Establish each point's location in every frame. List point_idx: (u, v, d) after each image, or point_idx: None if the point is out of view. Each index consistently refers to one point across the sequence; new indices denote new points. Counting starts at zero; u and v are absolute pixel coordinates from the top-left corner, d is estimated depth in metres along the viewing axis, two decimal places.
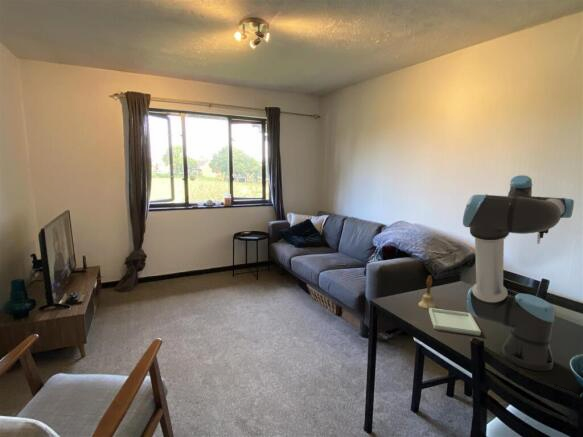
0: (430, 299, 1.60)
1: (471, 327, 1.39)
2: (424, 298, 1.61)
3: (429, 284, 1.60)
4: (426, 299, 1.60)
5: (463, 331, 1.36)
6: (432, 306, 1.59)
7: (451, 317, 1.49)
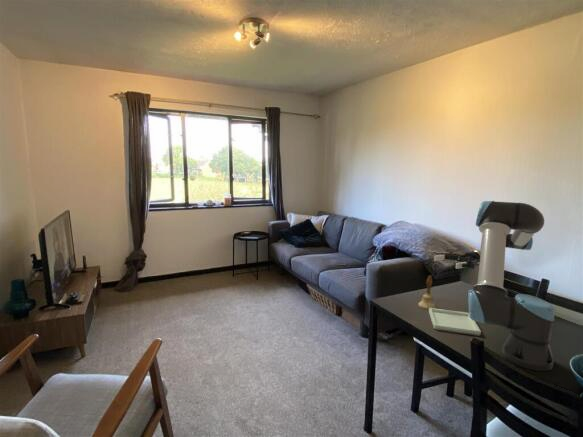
0: (430, 299, 1.60)
1: (471, 327, 1.39)
2: (424, 298, 1.61)
3: (429, 284, 1.60)
4: (426, 299, 1.60)
5: (463, 331, 1.36)
6: (432, 306, 1.59)
7: (451, 317, 1.49)
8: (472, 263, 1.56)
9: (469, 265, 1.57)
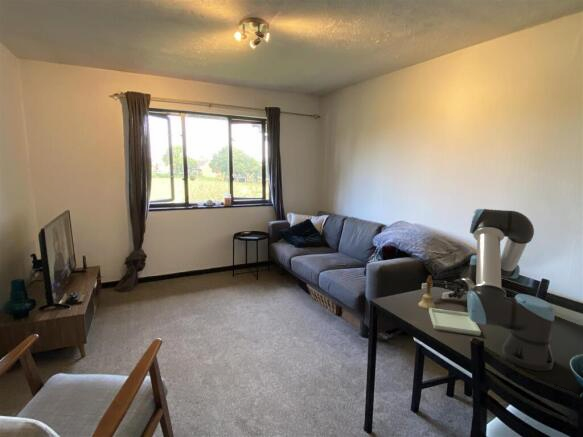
0: (430, 299, 1.60)
1: (471, 327, 1.39)
2: (424, 298, 1.61)
3: (429, 284, 1.60)
4: (426, 299, 1.60)
5: (463, 331, 1.36)
6: (432, 306, 1.59)
7: (451, 317, 1.49)
8: (459, 293, 1.57)
9: (456, 295, 1.57)
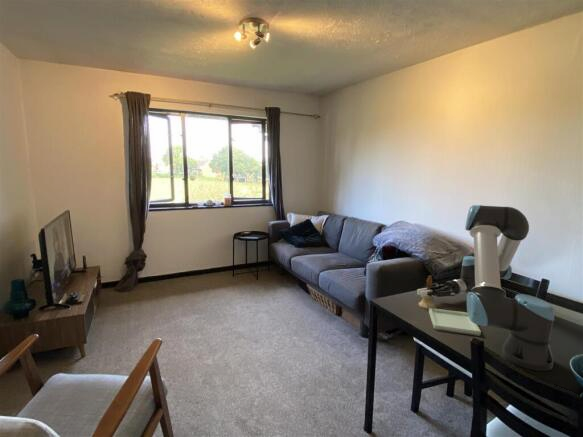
0: (430, 299, 1.60)
1: (471, 327, 1.39)
2: (424, 298, 1.61)
3: (429, 284, 1.60)
4: (426, 299, 1.60)
5: (463, 331, 1.36)
6: (432, 306, 1.59)
7: (451, 317, 1.49)
8: (437, 291, 1.58)
9: (434, 293, 1.59)
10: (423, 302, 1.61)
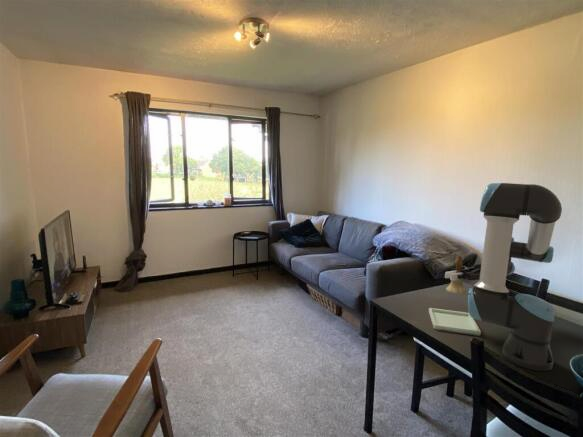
0: (460, 283, 1.40)
1: (471, 327, 1.39)
2: (453, 282, 1.41)
3: (459, 266, 1.40)
4: (456, 283, 1.40)
5: (463, 331, 1.36)
6: (463, 291, 1.39)
7: (451, 317, 1.49)
8: (469, 274, 1.38)
9: (465, 276, 1.39)
10: (452, 287, 1.41)
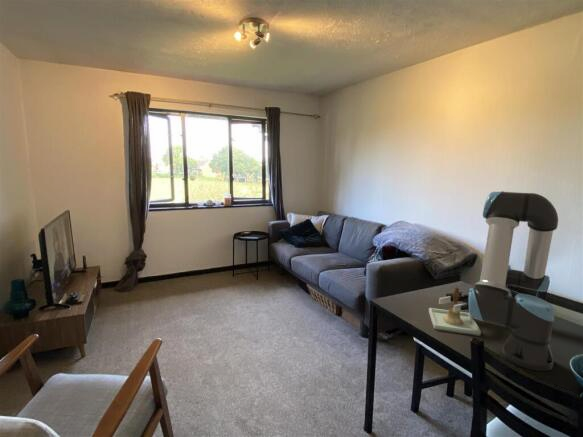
0: (457, 314, 1.42)
1: (471, 327, 1.39)
2: (450, 313, 1.43)
3: (456, 297, 1.42)
4: (453, 314, 1.42)
5: (463, 331, 1.36)
6: (459, 322, 1.41)
7: None
8: None
9: (469, 307, 1.39)
10: (449, 317, 1.43)
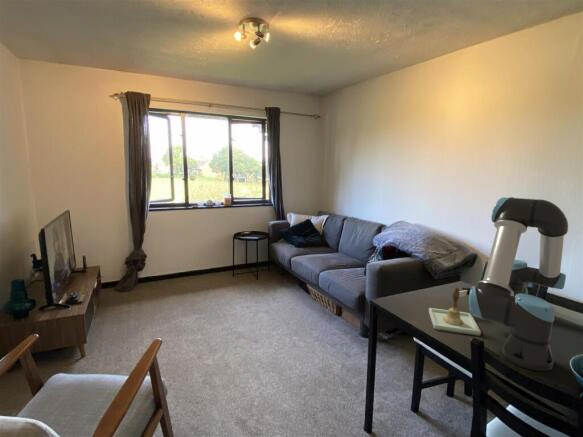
0: (457, 314, 1.42)
1: (471, 327, 1.39)
2: (450, 313, 1.43)
3: (456, 297, 1.42)
4: (453, 314, 1.42)
5: (463, 331, 1.36)
6: (459, 322, 1.41)
7: None
8: None
9: None
10: (449, 317, 1.43)
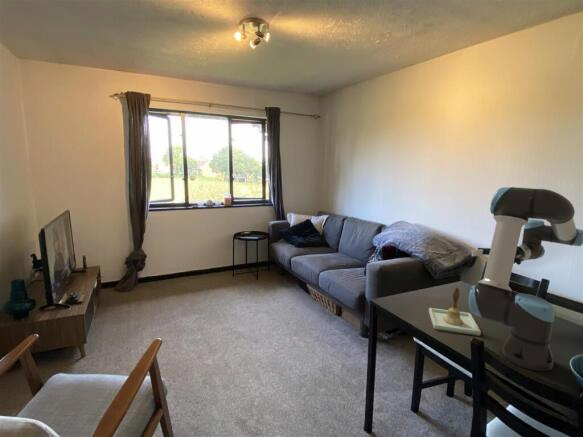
0: (457, 314, 1.42)
1: (471, 327, 1.39)
2: (450, 313, 1.43)
3: (456, 297, 1.42)
4: (453, 314, 1.42)
5: (463, 331, 1.36)
6: (459, 322, 1.41)
7: None
8: (518, 258, 1.38)
9: (514, 260, 1.39)
10: (449, 317, 1.43)
